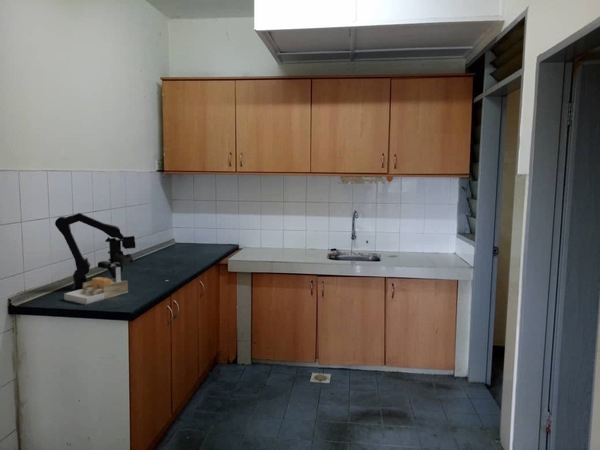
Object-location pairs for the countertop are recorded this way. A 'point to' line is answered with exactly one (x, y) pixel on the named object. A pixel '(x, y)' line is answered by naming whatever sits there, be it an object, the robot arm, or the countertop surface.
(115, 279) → the scraper
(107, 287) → the slot block
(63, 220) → the robot arm
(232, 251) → the countertop surface
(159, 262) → the countertop surface
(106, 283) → the tan cardboard cube
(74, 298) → the chip tray
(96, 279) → the matte ochre cube
